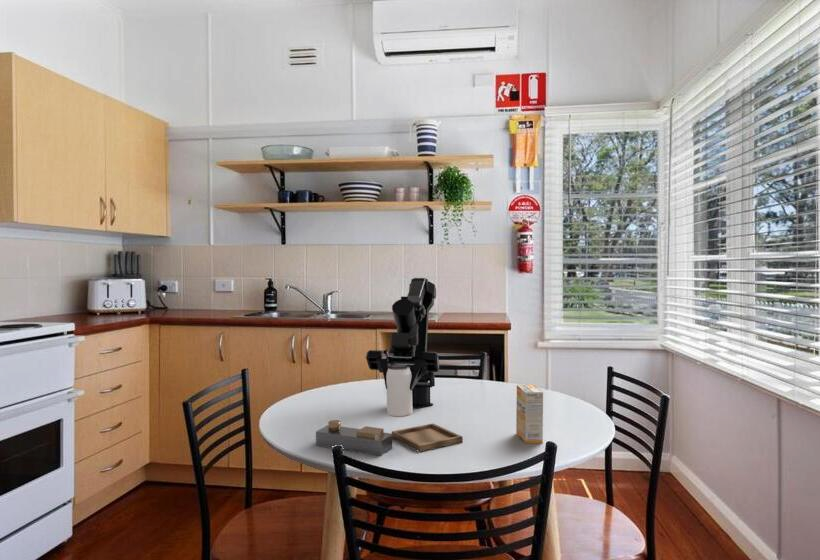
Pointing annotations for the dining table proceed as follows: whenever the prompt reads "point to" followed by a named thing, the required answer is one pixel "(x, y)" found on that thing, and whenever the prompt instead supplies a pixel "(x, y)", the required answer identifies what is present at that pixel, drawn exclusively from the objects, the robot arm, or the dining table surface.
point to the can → (399, 391)
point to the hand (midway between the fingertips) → (398, 388)
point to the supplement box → (529, 414)
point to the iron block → (354, 438)
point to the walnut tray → (426, 437)
